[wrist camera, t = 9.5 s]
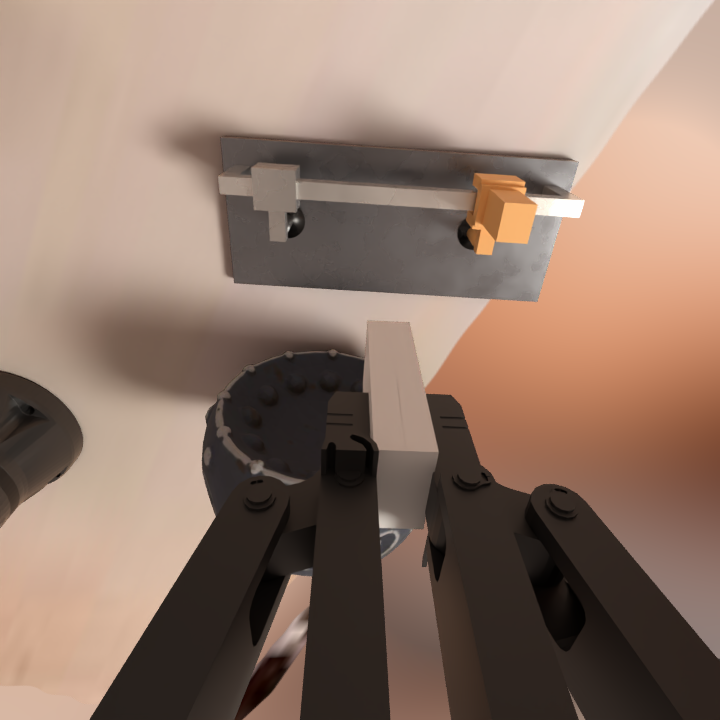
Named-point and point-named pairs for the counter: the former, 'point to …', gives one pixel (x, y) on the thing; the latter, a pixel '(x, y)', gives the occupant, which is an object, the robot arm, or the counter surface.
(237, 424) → the studded round pot
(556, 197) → the grey slide rail
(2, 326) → the counter surface
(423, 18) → the counter surface
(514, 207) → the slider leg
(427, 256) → the bolt plate
